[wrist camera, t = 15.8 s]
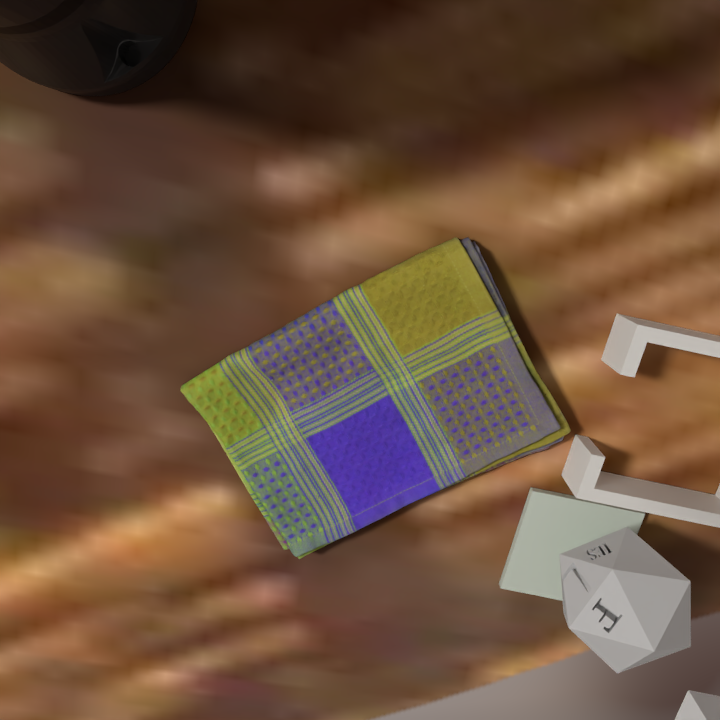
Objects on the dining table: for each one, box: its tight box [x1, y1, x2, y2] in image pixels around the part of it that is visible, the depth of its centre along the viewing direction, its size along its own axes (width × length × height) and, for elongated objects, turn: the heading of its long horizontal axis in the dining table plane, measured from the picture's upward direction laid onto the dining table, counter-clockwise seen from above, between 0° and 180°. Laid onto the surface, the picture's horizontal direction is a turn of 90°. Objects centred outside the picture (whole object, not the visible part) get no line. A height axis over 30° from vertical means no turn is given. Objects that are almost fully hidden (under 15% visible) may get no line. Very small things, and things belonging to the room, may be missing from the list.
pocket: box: [562, 314, 720, 528], centre depth 42 cm, size 13×13×4 cm
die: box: [559, 527, 691, 673], centre depth 42 cm, size 8×9×10 cm
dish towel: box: [180, 237, 571, 559], centre depth 44 cm, size 18×24×3 cm
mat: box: [499, 487, 645, 601], centre depth 47 cm, size 9×9×1 cm
